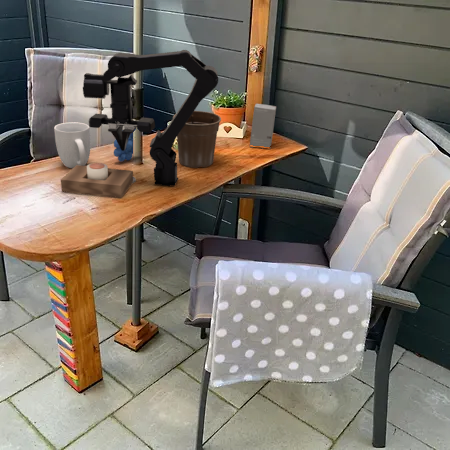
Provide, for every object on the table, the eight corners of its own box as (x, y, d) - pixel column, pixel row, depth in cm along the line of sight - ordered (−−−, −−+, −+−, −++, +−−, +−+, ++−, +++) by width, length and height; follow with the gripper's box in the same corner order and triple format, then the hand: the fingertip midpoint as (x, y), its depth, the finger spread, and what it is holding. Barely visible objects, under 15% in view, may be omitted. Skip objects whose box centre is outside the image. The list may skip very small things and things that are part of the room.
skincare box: (249, 147, 190) (252, 107, 182) (251, 142, 196) (254, 102, 188) (271, 150, 189) (275, 109, 181) (272, 144, 195) (276, 104, 187)
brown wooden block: (133, 182, 153) (132, 170, 152) (121, 198, 143) (120, 185, 141) (77, 177, 155) (76, 165, 153) (61, 192, 144) (60, 179, 142)
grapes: (132, 153, 177) (131, 120, 171) (145, 158, 173) (144, 125, 167) (106, 161, 169) (104, 127, 163) (119, 166, 165) (117, 131, 159)
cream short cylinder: (111, 182, 151) (110, 162, 148) (104, 189, 146) (103, 170, 143) (92, 180, 151) (90, 161, 148) (85, 187, 146) (83, 168, 143)
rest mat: (138, 177, 157) (138, 176, 157) (132, 185, 151) (132, 184, 151) (117, 175, 158) (117, 174, 158) (110, 183, 152) (110, 182, 152)
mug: (101, 171, 160) (98, 133, 154) (67, 177, 154) (63, 137, 148) (85, 157, 171) (82, 120, 165) (53, 161, 165) (49, 124, 159)
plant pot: (209, 173, 163) (211, 126, 156) (165, 166, 168) (165, 119, 160) (224, 158, 177) (227, 114, 170) (183, 151, 181) (184, 108, 174)
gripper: (159, 95, 149) (159, 144, 156) (99, 90, 150) (102, 139, 158) (149, 104, 139) (150, 156, 146) (86, 99, 141) (90, 150, 148)
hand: (123, 150), depth 150 cm, fingers closed
